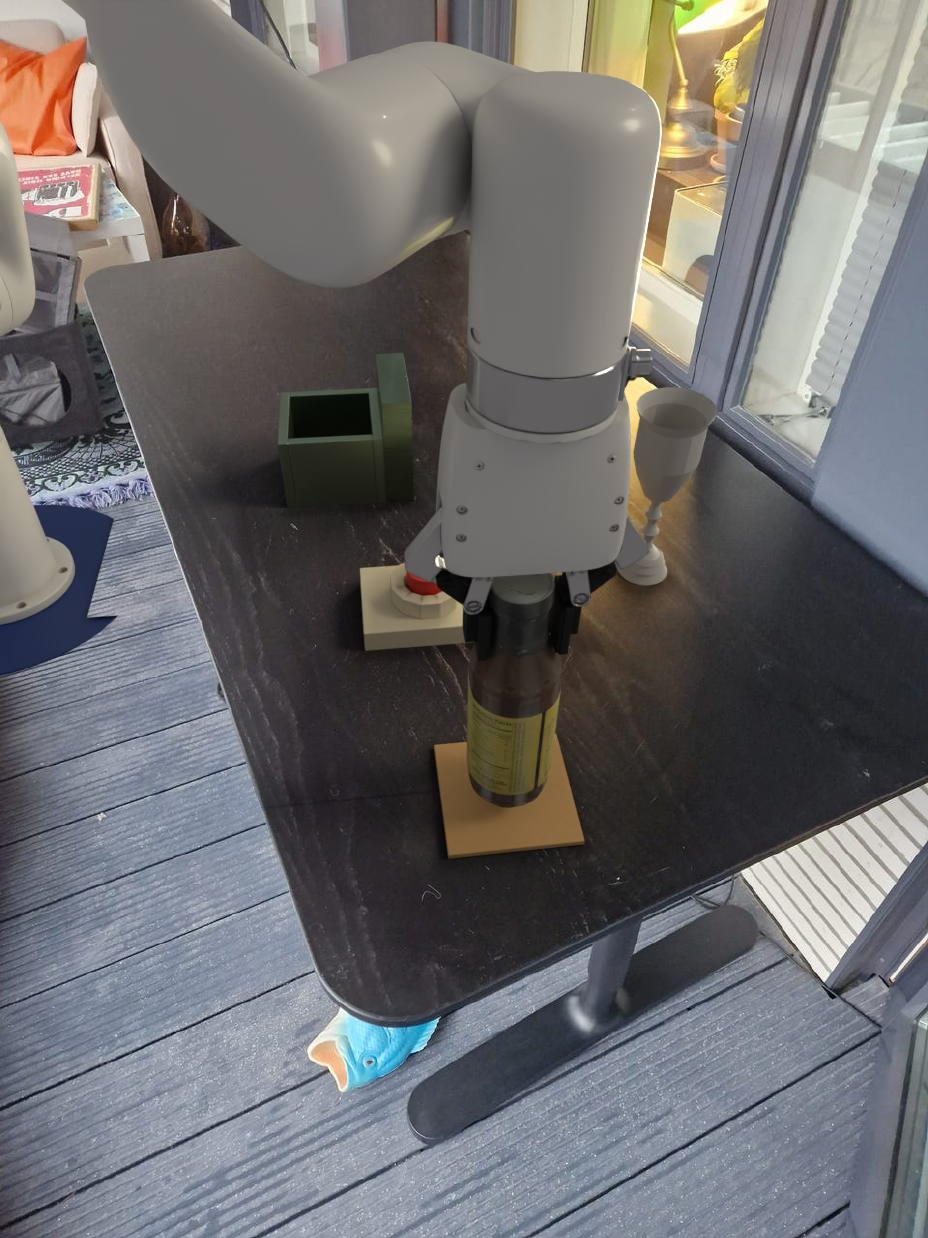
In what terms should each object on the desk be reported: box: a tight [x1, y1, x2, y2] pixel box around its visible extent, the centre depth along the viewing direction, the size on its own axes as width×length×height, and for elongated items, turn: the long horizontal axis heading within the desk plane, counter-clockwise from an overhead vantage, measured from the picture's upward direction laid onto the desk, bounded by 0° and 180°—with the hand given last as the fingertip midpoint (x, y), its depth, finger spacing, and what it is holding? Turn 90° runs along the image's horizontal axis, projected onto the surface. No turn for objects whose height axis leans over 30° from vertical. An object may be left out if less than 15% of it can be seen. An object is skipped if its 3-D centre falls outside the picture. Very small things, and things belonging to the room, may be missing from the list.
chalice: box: [617, 386, 718, 586], centre depth 79 cm, size 7×7×18 cm
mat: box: [433, 733, 585, 859], centre depth 65 cm, size 10×10×1 cm
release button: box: [406, 571, 442, 596], centre depth 77 cm, size 4×4×2 cm
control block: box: [359, 562, 490, 651], centre depth 78 cm, size 12×9×4 cm
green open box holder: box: [277, 352, 415, 509], centre depth 91 cm, size 14×11×12 cm
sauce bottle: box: [466, 573, 563, 808], centre depth 57 cm, size 6×6×20 cm
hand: (518, 639), depth 54 cm, fingers closed on sauce bottle, 4 cm apart
